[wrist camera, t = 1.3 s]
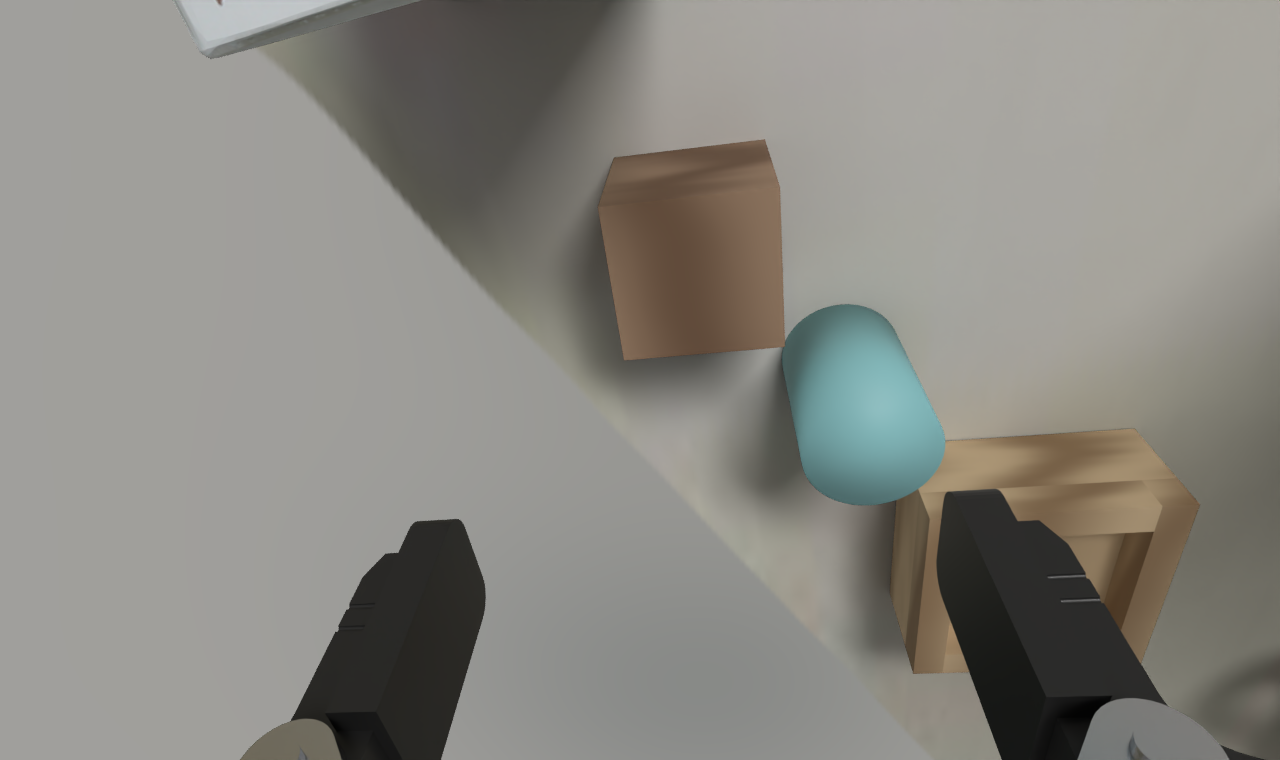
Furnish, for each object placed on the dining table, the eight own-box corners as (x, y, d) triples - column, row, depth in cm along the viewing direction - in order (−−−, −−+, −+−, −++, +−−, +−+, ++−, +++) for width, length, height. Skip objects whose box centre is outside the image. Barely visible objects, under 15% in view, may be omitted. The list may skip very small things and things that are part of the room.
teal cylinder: (902, 298, 26) (951, 389, 21) (895, 398, 29) (939, 501, 24) (780, 309, 27) (799, 400, 22) (783, 406, 29) (802, 509, 24)
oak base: (1134, 428, 29) (1200, 504, 25) (1089, 584, 33) (1139, 667, 30) (900, 444, 30) (929, 519, 26) (889, 592, 34) (913, 673, 31)
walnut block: (764, 139, 24) (779, 186, 19) (770, 277, 26) (785, 346, 22) (614, 156, 24) (597, 207, 20) (634, 291, 27) (624, 360, 23)
